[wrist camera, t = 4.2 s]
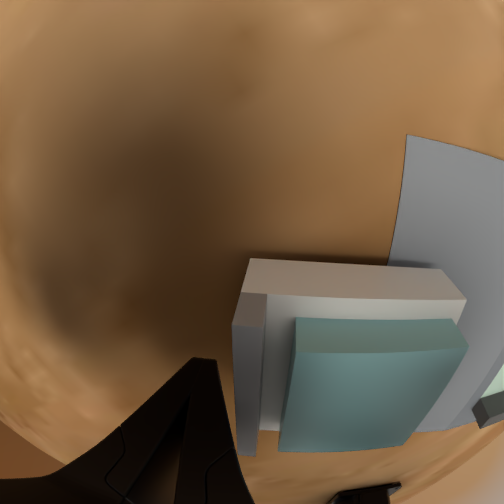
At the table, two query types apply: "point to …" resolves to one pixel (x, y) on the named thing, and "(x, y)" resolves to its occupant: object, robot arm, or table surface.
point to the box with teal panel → (341, 353)
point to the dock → (459, 266)
